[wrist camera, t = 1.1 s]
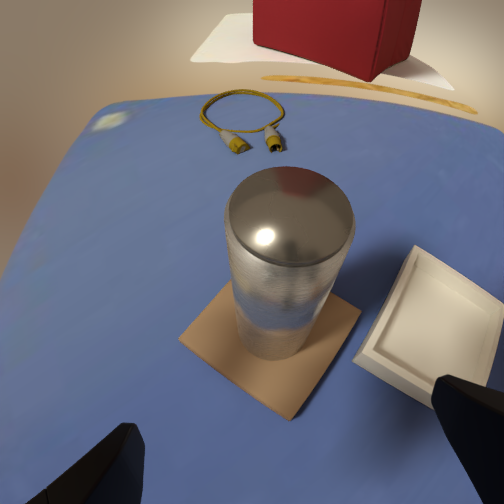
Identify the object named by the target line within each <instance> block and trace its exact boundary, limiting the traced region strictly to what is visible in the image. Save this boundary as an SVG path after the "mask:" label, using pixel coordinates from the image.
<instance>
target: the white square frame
mask: <svg viewBox="0 0 504 504" xmlns="http://www.w3.org/2000/svg"><path fill="white" fill-rule="evenodd" d="M503 319H504V304H503V303H502V302H500V301H499V300H497V299H496V298H495V297H493V296H492V295H490V294H489V293H488V292H486V291H485V290H483V289H482V288H480V287H479V286H478V285H476V284H475V283H473V282H472V281H470V280H469V279H467V278H466V277H464V276H463V275H461V274H460V273H458V272H457V271H455V270H454V269H452V268H451V267H449V266H448V265H446V264H445V263H443V262H442V261H440V260H438V259H437V258H435V257H434V256H432V255H431V254H429V253H427V252H426V251H424V250H423V249H421V248H419V247H418V246H416V245H414V247H413V248H412V250H411V251H410V253H409V254H408V256H407V257H406V259H405V260H404V262H403V264H402V267H401V269H400V271H399V273H398V275H397V277H396V279H395V281H394V283H393V286H392V288H391V290H390V292H389V294H388V296H387V298H386V300H385V302H384V304H383V306H382V307H381V309H380V311H379V313H378V315H377V317H376V319H375V321H374V323H373V324H372V326H371V328H370V330H369V332H368V333H367V335H366V337H365V339H364V341H363V342H362V344H361V346H360V348H359V349H358V351H357V353H356V354H355V356H354V358H353V360H352V362H354V363H355V364H357V365H359V366H360V367H362V368H363V369H365V370H367V371H368V372H370V373H372V374H373V375H375V376H377V377H378V378H380V379H382V380H383V381H385V382H387V383H388V384H390V385H392V386H393V387H395V388H397V389H398V390H400V391H402V392H403V393H405V394H407V395H409V396H410V397H412V398H414V399H415V400H417V401H419V402H421V403H422V404H424V405H426V406H428V407H429V408H431V409H433V410H434V408H433V406H432V404H431V395H432V391H433V388H434V384H435V381H436V379H437V378H438V377H440V376H443V375H446V374H449V375H452V376H455V377H458V378H461V379H464V380H467V381H470V382H473V383H476V384H478V385H481V386H484V387H486V384H487V381H488V378H489V374H490V371H491V368H492V364H493V361H494V357H495V353H496V349H497V345H498V341H499V337H500V333H501V328H502V324H503Z"/></svg>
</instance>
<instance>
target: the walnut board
mask: <svg viewBox="0 0 504 504" xmlns="http://www.w3.org/2000/svg"><path fill="white" fill-rule="evenodd" d="M361 312H362V311H361V310H359V309H357V308H356V307H354V306H353V305H351V304H349V303H348V302H346V301H344V300H343V299H341V298H340V297H338V296H336V295H335V294H333V293H331V292H329V295H328V297H327V299H326V301H325V303H324V305H323V307H322V309H321V311H320V313H319V315H318V317H317V319H316V321H315V323H314V325H313V327H312V329H311V331H310V333H309V335H308V337H307V339H306V341H305V343H304V345H303V346H302V348H301V349H300V350H299V351H298V352H297V353H296V354H294V355H293V356H291V357H289V358H286V359H283V360H278V361H269V360H264V359H260V358H258V357H256V356H254V355H253V354H251V353H250V352H249V351H248V350H247V349H246V348H245V347H244V345H243V344H242V342H241V340H240V337H239V334H238V327H237V320H236V312H235V305H234V297H233V289H232V281H231V280H230V281H229V282H228V283H227V284H226V285H225V286H224V287H223V289H222V290H221V291H220V292H219V293H218V294H217V295H216V297H215V298H214V299H213V300H212V301H211V302H210V303H209V304H208V306H207V307H206V308H205V309H204V310H203V311H202V312H201V313H200V315H199V316H198V317H197V318H196V319H195V320H194V321H193V323H192V324H191V325H190V326H189V327H188V328H187V329H186V330H185V332H184V333H183V334H182V335H181V336H180V337H179V338H178V339H179V341H180V342H181V343H182V344H183V345H184V346H186V347H187V348H188V349H189V350H191V351H192V352H193V353H194V354H196V355H197V356H198V357H199V358H201V359H202V360H203V361H205V362H206V363H207V364H208V365H210V366H211V367H212V368H214V369H215V370H216V371H218V372H219V373H220V374H222V375H223V376H224V377H226V378H227V379H228V380H230V381H231V382H232V383H234V384H235V385H237V386H238V387H239V388H241V389H242V390H244V391H245V392H246V393H248V394H249V395H251V396H252V397H253V398H255V399H256V400H258V401H259V402H261V403H262V404H264V405H265V406H267V407H268V408H270V409H271V410H273V411H274V412H276V413H277V414H279V415H280V416H282V417H283V418H285V419H286V420H288V421H291V419H292V418H293V417H294V415H295V414H296V413H297V411H298V410H299V408H300V407H301V406H302V404H303V403H304V401H305V400H306V399H307V397H308V396H309V394H310V393H311V391H312V390H313V388H314V387H315V386H316V384H317V383H318V381H319V380H320V378H321V377H322V375H323V374H324V372H325V371H326V369H327V368H328V366H329V364H330V363H331V361H332V360H333V358H334V357H335V355H336V353H337V352H338V350H339V349H340V347H341V345H342V344H343V342H344V341H345V339H346V337H347V336H348V334H349V332H350V331H351V329H352V327H353V326H354V324H355V322H356V320H357V319H358V317H359V315H360V314H361Z"/></svg>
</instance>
